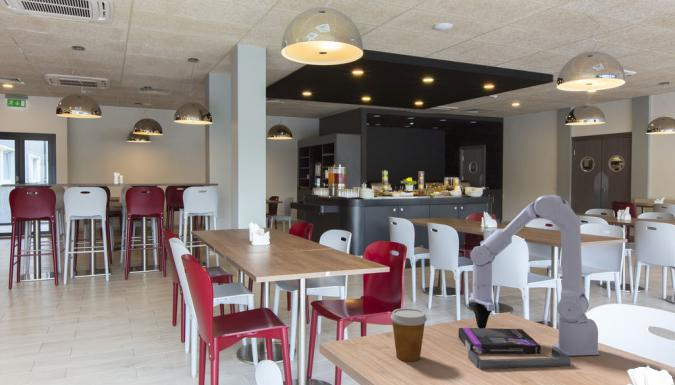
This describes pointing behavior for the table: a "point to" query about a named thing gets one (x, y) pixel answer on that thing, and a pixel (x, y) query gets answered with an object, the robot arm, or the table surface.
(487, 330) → the box
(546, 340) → the table surface
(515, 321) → the table surface
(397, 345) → the disposable coffee cup
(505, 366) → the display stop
